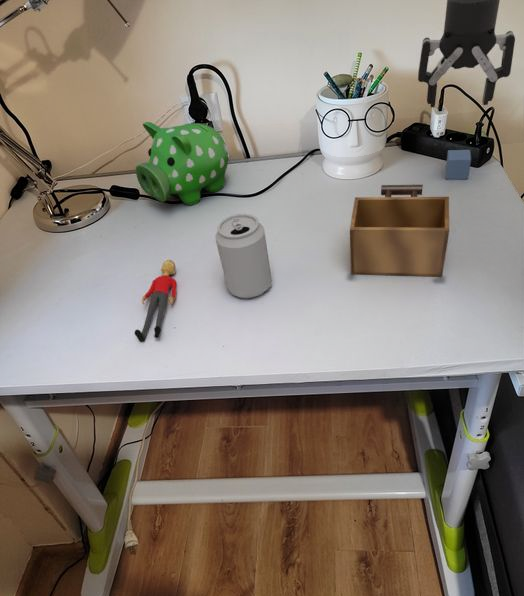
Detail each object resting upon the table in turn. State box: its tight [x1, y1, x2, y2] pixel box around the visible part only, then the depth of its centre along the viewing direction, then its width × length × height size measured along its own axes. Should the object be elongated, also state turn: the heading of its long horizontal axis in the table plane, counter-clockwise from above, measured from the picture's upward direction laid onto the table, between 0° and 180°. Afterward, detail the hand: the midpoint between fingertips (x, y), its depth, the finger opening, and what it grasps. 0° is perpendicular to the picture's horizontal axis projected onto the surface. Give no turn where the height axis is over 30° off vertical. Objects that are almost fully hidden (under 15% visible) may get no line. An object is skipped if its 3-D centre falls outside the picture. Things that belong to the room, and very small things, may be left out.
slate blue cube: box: [445, 149, 472, 181], centre depth 97 cm, size 4×4×4 cm
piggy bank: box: [135, 121, 229, 206], centre depth 103 cm, size 14×18×15 cm
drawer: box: [349, 184, 450, 278], centre depth 81 cm, size 14×9×13 cm
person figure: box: [134, 259, 178, 343], centre depth 82 cm, size 5×4×18 cm
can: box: [214, 213, 273, 299], centre depth 79 cm, size 8×8×12 cm
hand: (458, 104), depth 88 cm, fingers open, 8 cm apart
